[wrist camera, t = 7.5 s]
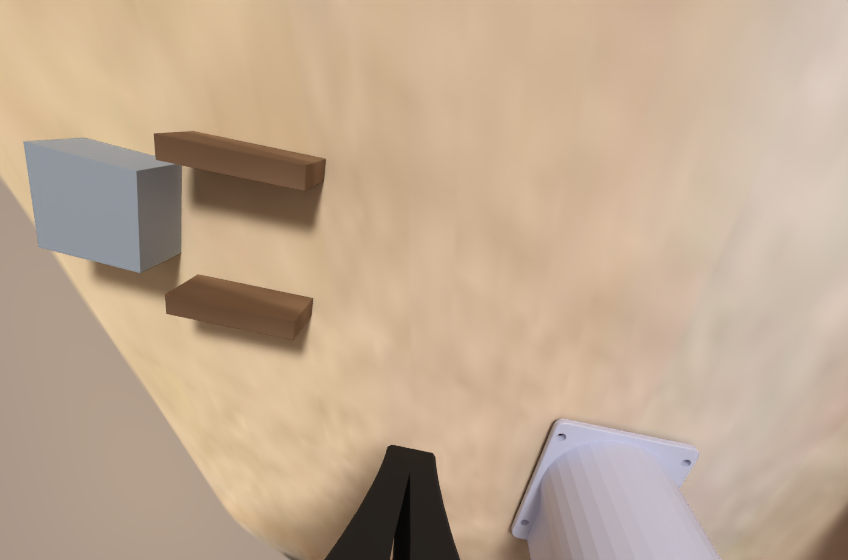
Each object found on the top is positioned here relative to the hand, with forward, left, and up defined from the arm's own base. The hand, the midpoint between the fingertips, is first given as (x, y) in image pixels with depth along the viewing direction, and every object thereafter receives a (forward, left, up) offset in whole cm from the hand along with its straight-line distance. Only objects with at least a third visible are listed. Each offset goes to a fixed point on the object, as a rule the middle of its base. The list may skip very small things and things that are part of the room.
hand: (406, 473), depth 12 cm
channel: (+3, +9, -9) cm, 13 cm away
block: (+3, +15, -10) cm, 18 cm away
